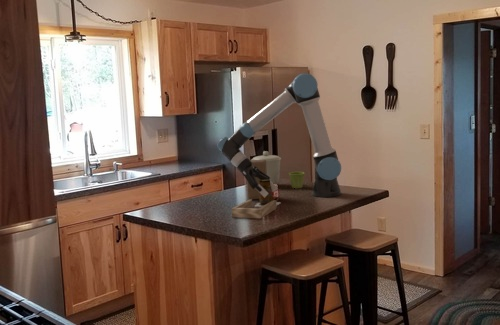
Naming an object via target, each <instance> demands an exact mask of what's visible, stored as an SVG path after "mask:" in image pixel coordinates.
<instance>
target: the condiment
mask: <svg viewBox="0 0 500 325" xmlns="http://www.w3.org/2000/svg"><path fill="white" fill-rule="evenodd" d="M260 185H261V186H262V187H263V188H264V189H265V190H266V191H267V192H268V193H269V194H268V195H267V196H266V197H265V198H264V197H263V196H262V195H261V194H260V193H259V195H260V199H259V202H256V205H257V204H259V205H262V206H264V205H266V204H267V203H269V202H271V201H273V194H272V193H273V191H272V189H271V185H270V180H269V179H263V180H260Z"/></svg>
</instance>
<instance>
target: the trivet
mask: <svg viewBox="0 0 500 325" xmlns="http://www.w3.org/2000/svg"><path fill="white" fill-rule="evenodd" d="M281 203H282V202H280V201H276V207H277V206H278V205H280V204H281ZM261 207H262V205H259V204H257V203H256V204H255V205H254V208H261Z"/></svg>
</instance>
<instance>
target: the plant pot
mask: <svg viewBox="0 0 500 325" xmlns="http://www.w3.org/2000/svg"><path fill="white" fill-rule="evenodd" d="M288 175H289V178H290V183H291V188H292V189H294V188H295V189H302V188H303V187H304V186H303V184H304V183H303V182H304V177H305V172H304V171H292V172H288Z"/></svg>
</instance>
